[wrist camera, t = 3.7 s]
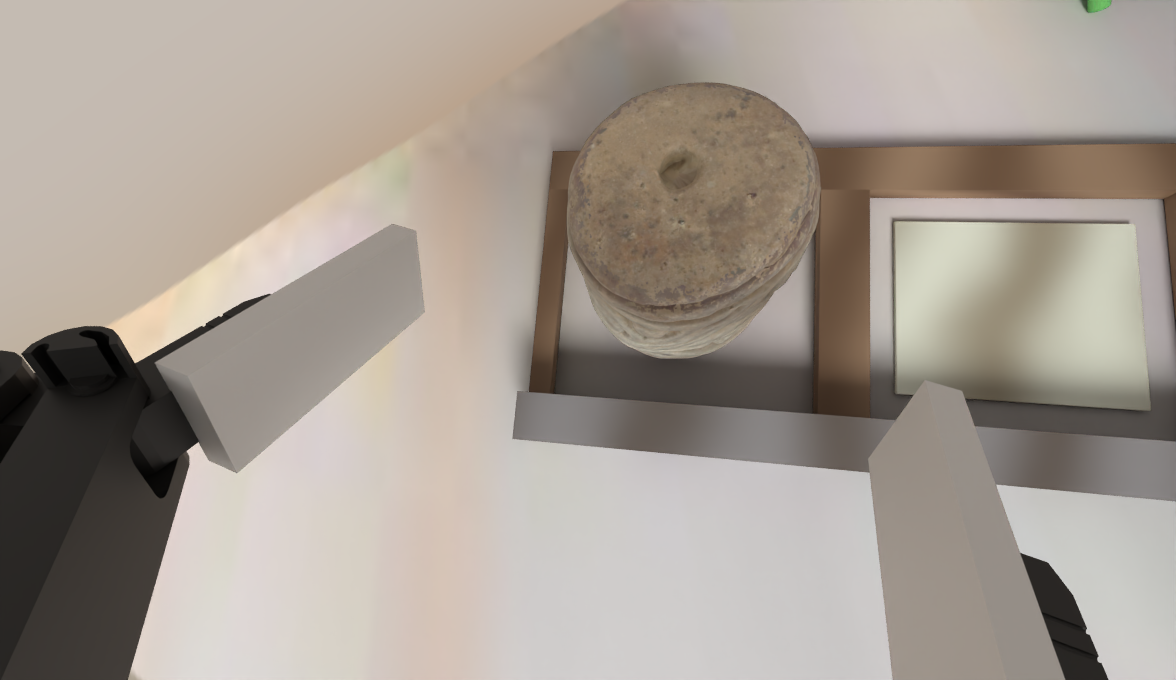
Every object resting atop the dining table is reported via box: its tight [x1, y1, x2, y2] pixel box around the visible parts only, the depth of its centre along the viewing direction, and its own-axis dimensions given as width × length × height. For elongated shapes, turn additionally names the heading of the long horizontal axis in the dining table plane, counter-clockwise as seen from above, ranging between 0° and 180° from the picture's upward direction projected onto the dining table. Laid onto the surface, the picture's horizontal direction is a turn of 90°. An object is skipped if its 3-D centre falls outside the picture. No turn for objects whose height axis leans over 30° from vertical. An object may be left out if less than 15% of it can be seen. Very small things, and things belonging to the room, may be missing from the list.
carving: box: [567, 82, 821, 359], centre depth 18 cm, size 6×8×12 cm
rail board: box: [513, 143, 1176, 501], centre depth 21 cm, size 27×14×2 cm, turn 86°
